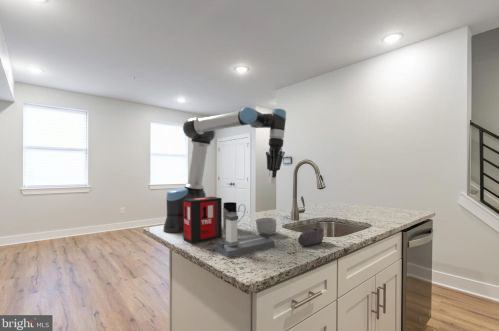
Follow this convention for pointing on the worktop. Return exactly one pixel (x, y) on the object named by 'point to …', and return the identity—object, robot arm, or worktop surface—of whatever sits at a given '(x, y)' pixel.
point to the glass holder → (230, 211)
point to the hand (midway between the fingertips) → (271, 183)
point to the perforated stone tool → (311, 237)
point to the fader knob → (231, 230)
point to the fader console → (245, 245)
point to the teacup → (266, 225)
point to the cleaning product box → (202, 219)
